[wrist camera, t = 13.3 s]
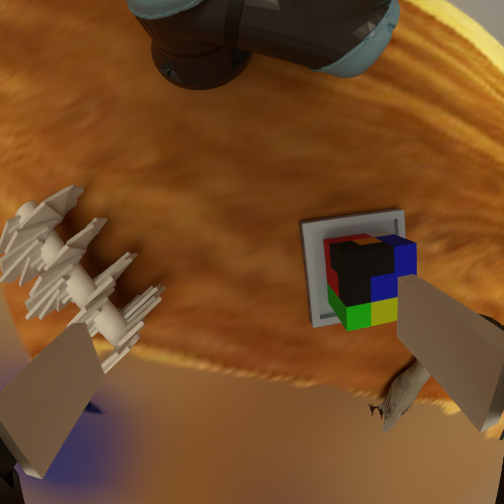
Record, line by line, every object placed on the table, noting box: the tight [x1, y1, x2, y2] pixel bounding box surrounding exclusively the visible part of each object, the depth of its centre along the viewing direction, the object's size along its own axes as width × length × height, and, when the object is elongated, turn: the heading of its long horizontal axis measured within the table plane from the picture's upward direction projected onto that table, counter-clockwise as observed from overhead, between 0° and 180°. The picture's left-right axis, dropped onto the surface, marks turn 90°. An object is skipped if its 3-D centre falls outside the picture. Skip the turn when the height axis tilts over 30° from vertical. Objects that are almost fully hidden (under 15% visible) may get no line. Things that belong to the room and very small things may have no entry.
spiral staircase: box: [0, 184, 166, 373], centre depth 38 cm, size 18×18×25 cm
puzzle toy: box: [323, 231, 417, 331], centre depth 42 cm, size 10×10×10 cm
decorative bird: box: [369, 360, 431, 432], centre depth 50 cm, size 5×16×8 cm, turn 148°
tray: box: [299, 209, 406, 328], centre depth 46 cm, size 16×16×2 cm
